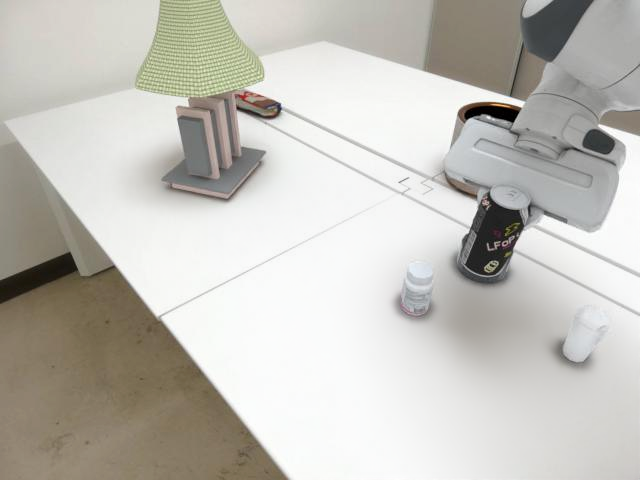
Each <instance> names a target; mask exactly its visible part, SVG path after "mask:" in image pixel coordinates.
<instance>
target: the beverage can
mask: <svg viewBox="0 0 640 480" xmlns="http://www.w3.org/2000/svg"><path fill="white" fill-rule="evenodd" d="M529 204H530V197H529V195H528V194H527V193H526V192H525V191H524V190H523V189H521V188H519V187H517V186H514V185H511V184H497V185H495V186H493V187H492V189H491V191H489V192H487V193H486V194H485V195H484V196H483V197H482V199H481V202H480V204H479V207H478V206H477V210H476V212H475V215H474V217H473V218H474V220H473V219H472V221H473V222H472V223H471V225H470V228H469V230H468V232H467V234H468V235H467V238H466V241H465V243H464V246H463V248H462V251H461V254H460V259H461V262H462V264H463V265H464V267H465V268H466V269H468V270H469V271H470V272H472V273H474V274H476V275H479V276H483V277H492V276H496V275H498V274H499V273H501V272H502V270H503V268H504V266H505V264H506V262H507V260H508V258H509V256H510V254H511V252H512V250H513V251H514V248H515V247H516V244H517V243H518V241H519V240H518V238H519V236H520V234H521V232H522V230H523V228H524V226H525V224H526V222H527V220H528V218H529V216H530V212H531V209H530V205H529ZM521 235H522V234H521ZM520 237H521V236H520ZM519 239H520V238H519ZM517 240H518V241H517ZM516 242H517V243H516Z"/></svg>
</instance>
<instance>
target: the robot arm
mask: <svg viewBox="0 0 640 480" xmlns="http://www.w3.org/2000/svg"><path fill="white" fill-rule="evenodd" d="M519 27H520V33H521V39H522V43H523V46H524V50H525V52H528V53H530V54H532V55H534V56H535V57H537V58H539V59H541V60H543V61H545V62H547V63H546V65H545V66H544V67H543V71H542V75H541V79H540V82H539V84H538V85H537V86H536V88H535V89H534V90H533V91H532V92H531V93H530V94H529V96H528V97H527V98H526V100H525V102H524V104H523V106H521V107H522V109H521V111H520V113H519V114H518V116H517V118H516V120H515V122H514V123H512V122H508V121H505V120H501V119H496V118H493V117H491V116H489V115H484V114H482V115H481V116H475V117H472V118H470V119H468V120H467V121H466V123H465V125H464V127H463V128H462V130H461V133H460V136H459V138H458V139H457V140H456V142H455V143H454V144H453V146H452V147H451V149H450V148H449V149H448V152H447V153H446V155H445V156H444V158H443V160H442V165H443V170H444V172H446V173H447V175H448V176H449V177H451V178H453V179H456V180H458V181H461V182H463V183H466V184H468V185H471V186H473V187H476V188H478V189H479V191H478V193H477V196H476V197H477V208H478V207H479V204H480V202H481V199H482V197H483V196H484V195H485V194H486V193H487V192H489V191H491V189H492V187H493V186H495V185H497V184H511V185H514V186H517V187H519V188H521V189H523V190H524V191H525V192H526V193H527V194H528V195H529V197H530V204H529V205H530V209H531V212H530V216H529V218H528V220H527V222H526V224H525V226H524V228H523V230H522V232H521V234H520V236H519V238H518V240H517V242H516V244H517V243H518V242H519V240H520V238H521V236H522V234H523V233H524V232H526V231H527V230H529V229H531V228H533V227H534V226H536V225H538V224H539V223H540V222H541V221H542V219H543V218H544V216H546V217H547V218H551V219H553V220H555V221H558V222H561V223H563V224H565V225H568V226H570V227H573V228H575V229H578V230H580V231H583V232H584V233H588V234H593V233H596V232H598V231H600V230H601V229H602V228H603V226H604V224H605V223H606V220H607V218H608V217H609V214H610V211H611V209H612V207H613V203H614V200H615V198H616V194H617V192H618V187H619V183H620V173H619V172H620V171H621V170H622V168H623V166H624V164H625V162H626V157H627V147H626V144H624V142H622V141H621V140H619V139H618V138H617V137H615V136H613V135H612V134H610V133H609V132H607V131H606V130H604V129H603V128H601V127H600V126H599V125H600V121H601V118H602V117H603V115H604V114H605V113H606V112H609V111H615V112H618V113H630V112H631V113H632V112H639V111H640V0H525V1H524V3H523V4H522V7H521V10H520V13H519ZM476 119H479V121H478V120H476ZM446 173H445V174H446ZM473 220H474V217H473V219H472V223H473Z"/></svg>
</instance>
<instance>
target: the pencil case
mask: <svg viewBox="0 0 640 480" xmlns="http://www.w3.org/2000/svg"><path fill="white" fill-rule="evenodd" d="M234 93H235V102H236V108H237V107H238V108H240V109H244V110H247V111H250V112H252V113H254V114H258V115H260V116H262V117H275V116H277V115H278V114H279V113H280V112H282V110H283V108H282V103H281V102H278V101H277V100H275V99H272V98H270V97H267V96H265V95H263V94H258V93H256V92H252V91H249V90H244V89H238V90H234Z"/></svg>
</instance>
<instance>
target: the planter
mask: <svg viewBox="0 0 640 480" xmlns="http://www.w3.org/2000/svg"><path fill="white" fill-rule="evenodd" d="M522 107H523V106H518V105H515V104H510V103H507V102H506V103H505V102H500V101H476V102H471V103H468V104H465V105H463V106H461V107H460V108H459V109H458V111H457V113H456V117H455V123H454V127H453V133H452V137H451V141H450V146H449V150H450V149H451V147H452V146H453V144H454V143H455V142H456V140H457V139H458V138H459V136H460V133H461V130H462V128H463V127H464V125H465V123H466V121H467V120H468V119H470V118H472V117H475V116H481V115H482V114H484V115H489V116H491V117H493V118H496V119H501V120H505V121H508V122H512V123H514V122H515V120H516V118H517V116H518V114H519V113H520V111H521V109H522ZM476 120H478V121H479V119H476ZM444 172H445V171H444ZM445 177H446V179H447V180H448V181H449V182H450V183H451V184H452V186H454V187H455V188H457V189H459V190H460V191H462V192H464V193H467V194H470V195H472V196H476V197H477V193H478V191H479V189H478V188H476V187H473V186H471V185H468V184H466V183H463V182H461V181H458V180H456V179H453V178H451V177H449V176H448V175H447V173H446V172H445Z"/></svg>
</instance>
